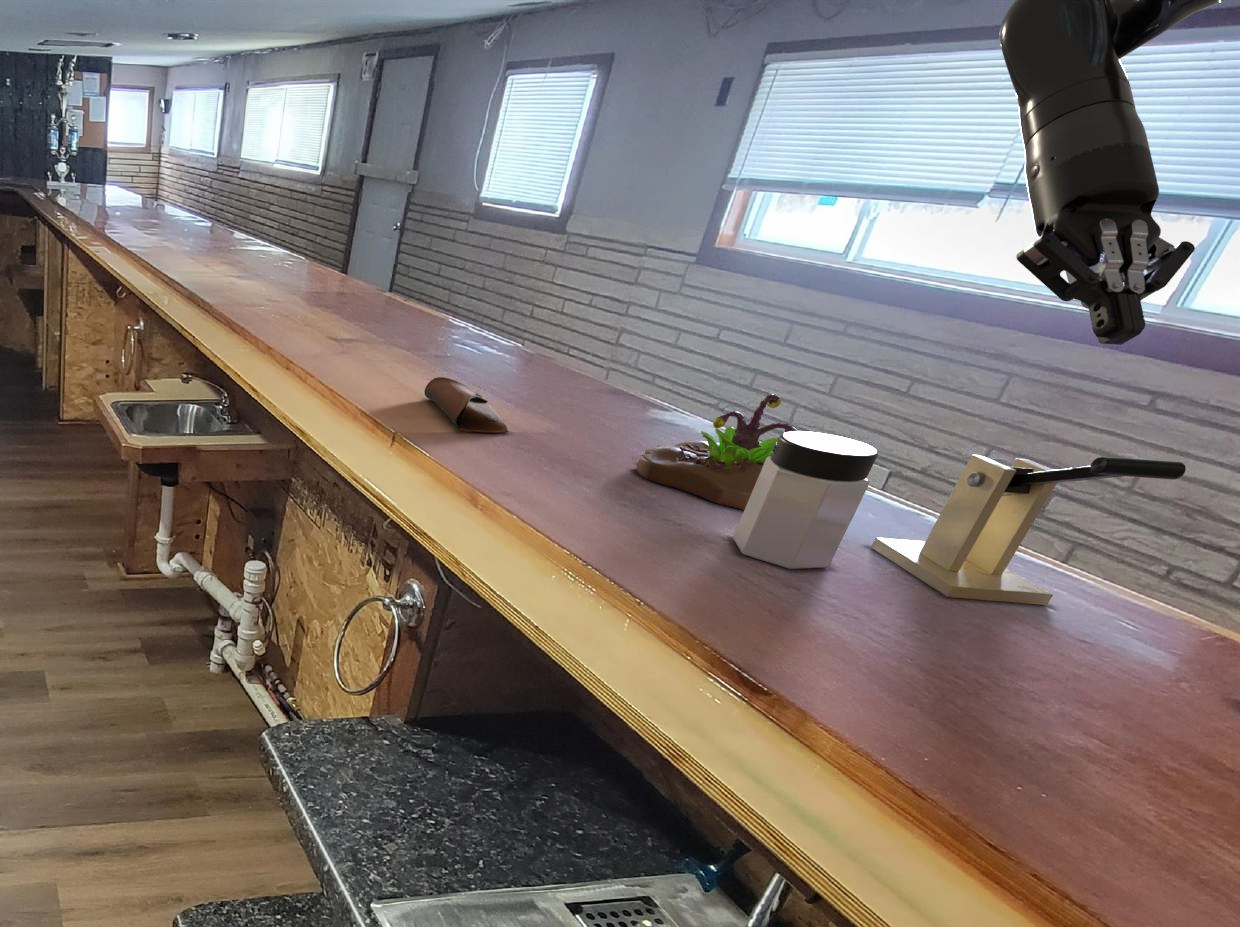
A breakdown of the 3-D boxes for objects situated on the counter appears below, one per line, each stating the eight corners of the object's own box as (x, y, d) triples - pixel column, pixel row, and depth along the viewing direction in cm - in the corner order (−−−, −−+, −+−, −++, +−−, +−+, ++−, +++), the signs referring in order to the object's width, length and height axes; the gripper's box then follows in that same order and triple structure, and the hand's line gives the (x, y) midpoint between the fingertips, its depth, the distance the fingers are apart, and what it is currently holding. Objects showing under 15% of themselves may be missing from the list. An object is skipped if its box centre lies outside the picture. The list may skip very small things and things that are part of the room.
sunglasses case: (514, 431, 129) (500, 389, 126) (466, 453, 130) (451, 413, 128) (474, 398, 144) (461, 361, 141) (432, 418, 146) (418, 382, 143)
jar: (783, 536, 99) (832, 430, 93) (847, 568, 92) (904, 455, 86) (712, 538, 97) (756, 430, 91) (771, 571, 90) (824, 456, 84)
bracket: (1047, 605, 86) (1121, 489, 80) (947, 597, 87) (1013, 481, 81) (958, 554, 96) (1018, 448, 90) (870, 547, 97) (924, 441, 91)
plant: (860, 500, 110) (904, 410, 104) (764, 522, 102) (806, 426, 97) (705, 452, 125) (736, 371, 120) (611, 467, 118) (640, 381, 112)
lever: (1183, 484, 74) (1189, 455, 73) (1104, 478, 74) (1110, 449, 74) (1023, 497, 88) (1028, 473, 87) (958, 492, 88) (962, 468, 88)
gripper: (1048, 136, 78) (1081, 307, 74) (1213, 143, 77) (1257, 317, 73) (973, 199, 85) (999, 358, 81) (1123, 207, 84) (1158, 368, 80)
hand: (1121, 338), depth 77 cm, fingers closed
